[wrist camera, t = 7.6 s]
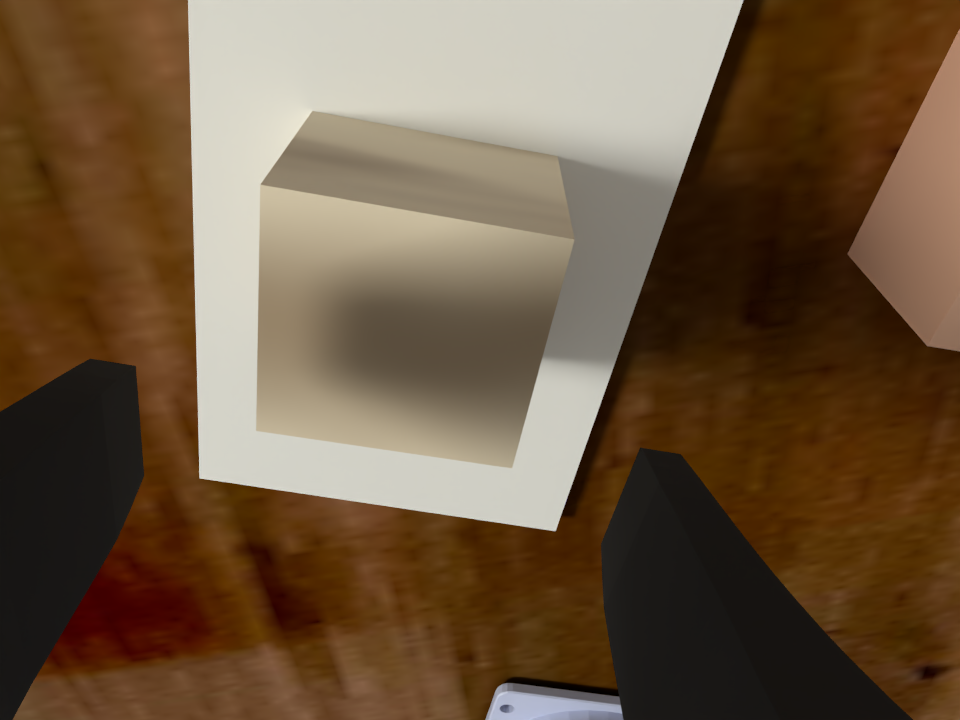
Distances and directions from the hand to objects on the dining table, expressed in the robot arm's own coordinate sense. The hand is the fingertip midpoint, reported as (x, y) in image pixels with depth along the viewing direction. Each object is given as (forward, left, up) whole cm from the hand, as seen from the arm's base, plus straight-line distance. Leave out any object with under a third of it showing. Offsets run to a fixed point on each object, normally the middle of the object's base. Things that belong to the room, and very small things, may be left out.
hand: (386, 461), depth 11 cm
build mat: (0, 0, -8) cm, 8 cm away
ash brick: (0, 0, -7) cm, 7 cm away
